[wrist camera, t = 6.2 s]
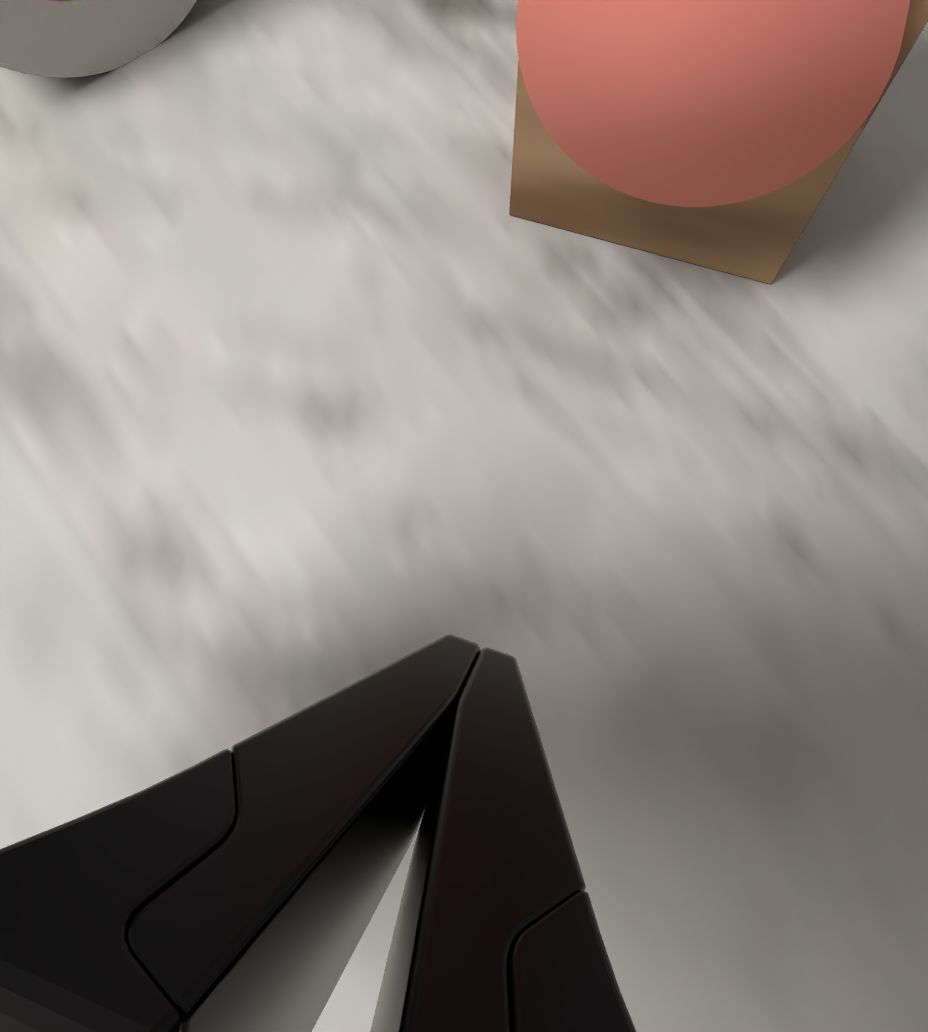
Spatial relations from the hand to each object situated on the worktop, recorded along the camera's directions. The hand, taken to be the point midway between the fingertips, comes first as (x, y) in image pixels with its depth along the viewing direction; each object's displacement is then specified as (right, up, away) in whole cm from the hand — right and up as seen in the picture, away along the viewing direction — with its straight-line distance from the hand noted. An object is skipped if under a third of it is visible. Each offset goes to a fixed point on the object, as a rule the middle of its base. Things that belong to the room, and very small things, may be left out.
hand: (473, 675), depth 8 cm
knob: (+5, +12, +7) cm, 15 cm away
